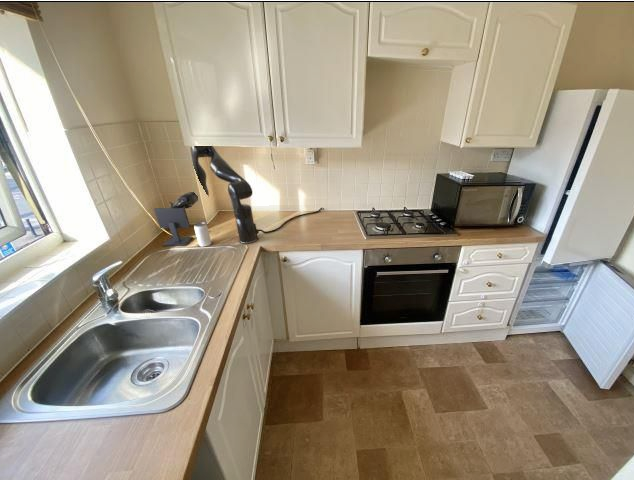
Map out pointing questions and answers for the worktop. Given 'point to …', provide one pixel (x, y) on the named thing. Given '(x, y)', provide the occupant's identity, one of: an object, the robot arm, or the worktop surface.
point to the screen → (172, 217)
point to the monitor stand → (176, 237)
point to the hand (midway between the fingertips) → (172, 209)
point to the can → (202, 234)
